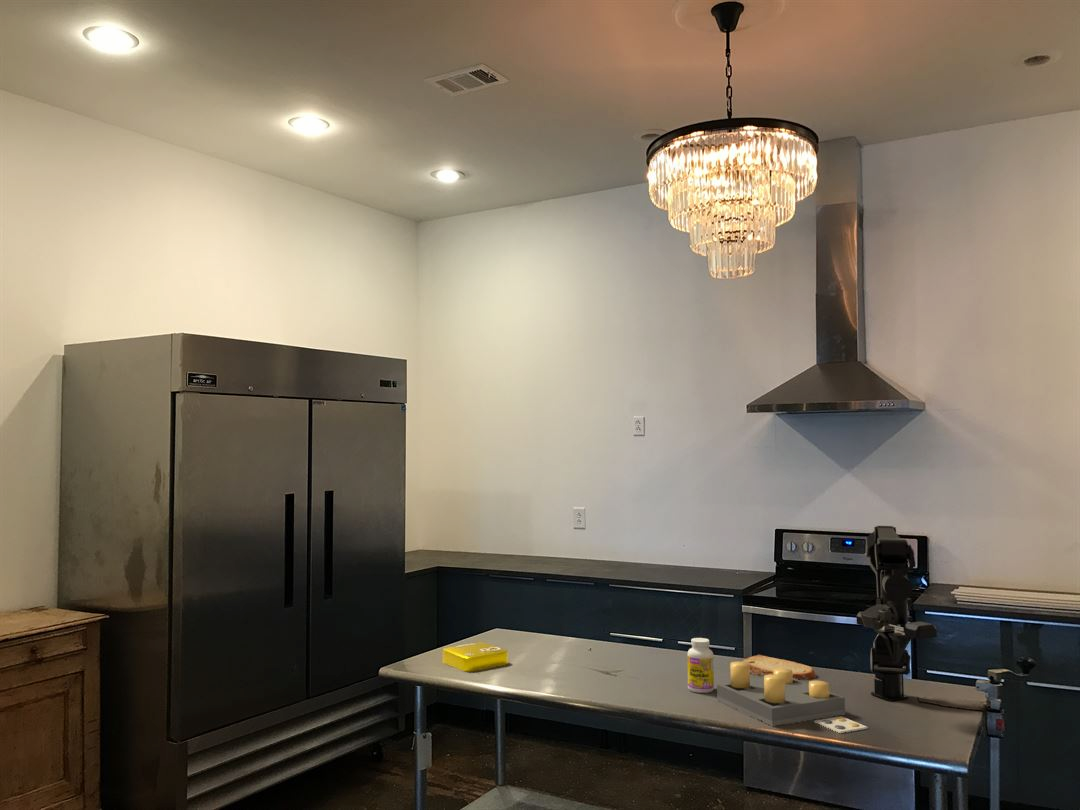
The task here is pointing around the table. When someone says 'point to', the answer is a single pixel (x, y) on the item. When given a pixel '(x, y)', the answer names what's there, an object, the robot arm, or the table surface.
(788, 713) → the grey flat square block
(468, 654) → the element tile
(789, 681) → the button
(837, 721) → the card
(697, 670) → the supplement bottle
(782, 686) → the button
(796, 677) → the slice of bread
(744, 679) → the button
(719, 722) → the table surface
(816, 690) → the button
